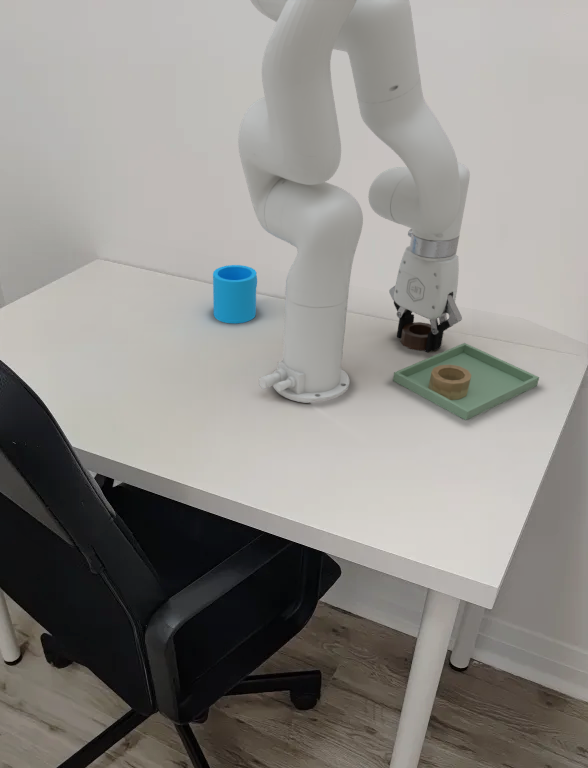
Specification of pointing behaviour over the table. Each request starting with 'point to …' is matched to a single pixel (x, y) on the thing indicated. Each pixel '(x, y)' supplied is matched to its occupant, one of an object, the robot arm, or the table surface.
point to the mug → (234, 293)
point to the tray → (487, 383)
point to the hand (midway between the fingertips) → (418, 343)
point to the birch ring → (450, 381)
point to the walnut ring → (415, 335)
